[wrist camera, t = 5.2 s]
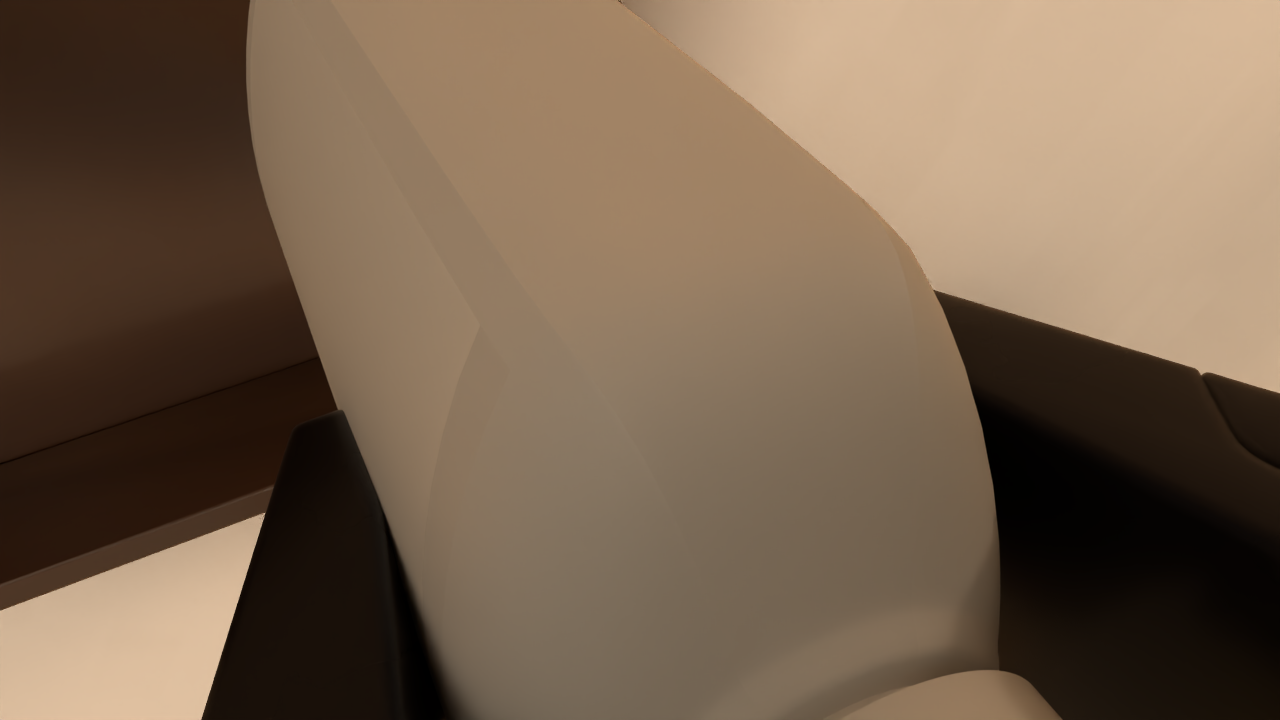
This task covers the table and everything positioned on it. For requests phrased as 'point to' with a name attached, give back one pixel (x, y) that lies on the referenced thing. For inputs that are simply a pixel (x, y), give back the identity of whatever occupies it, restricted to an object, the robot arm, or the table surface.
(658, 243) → the eye dropper bottle
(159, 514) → the box
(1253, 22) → the table surface
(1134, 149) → the table surface
